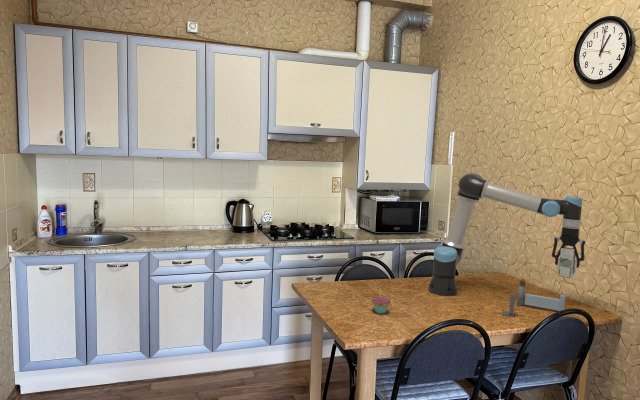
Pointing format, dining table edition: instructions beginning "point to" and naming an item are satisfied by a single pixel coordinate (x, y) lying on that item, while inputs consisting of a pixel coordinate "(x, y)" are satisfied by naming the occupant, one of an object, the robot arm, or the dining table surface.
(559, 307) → the gate
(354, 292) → the dining table surface
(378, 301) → the cupcake
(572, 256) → the syrup box
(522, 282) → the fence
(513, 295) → the post
